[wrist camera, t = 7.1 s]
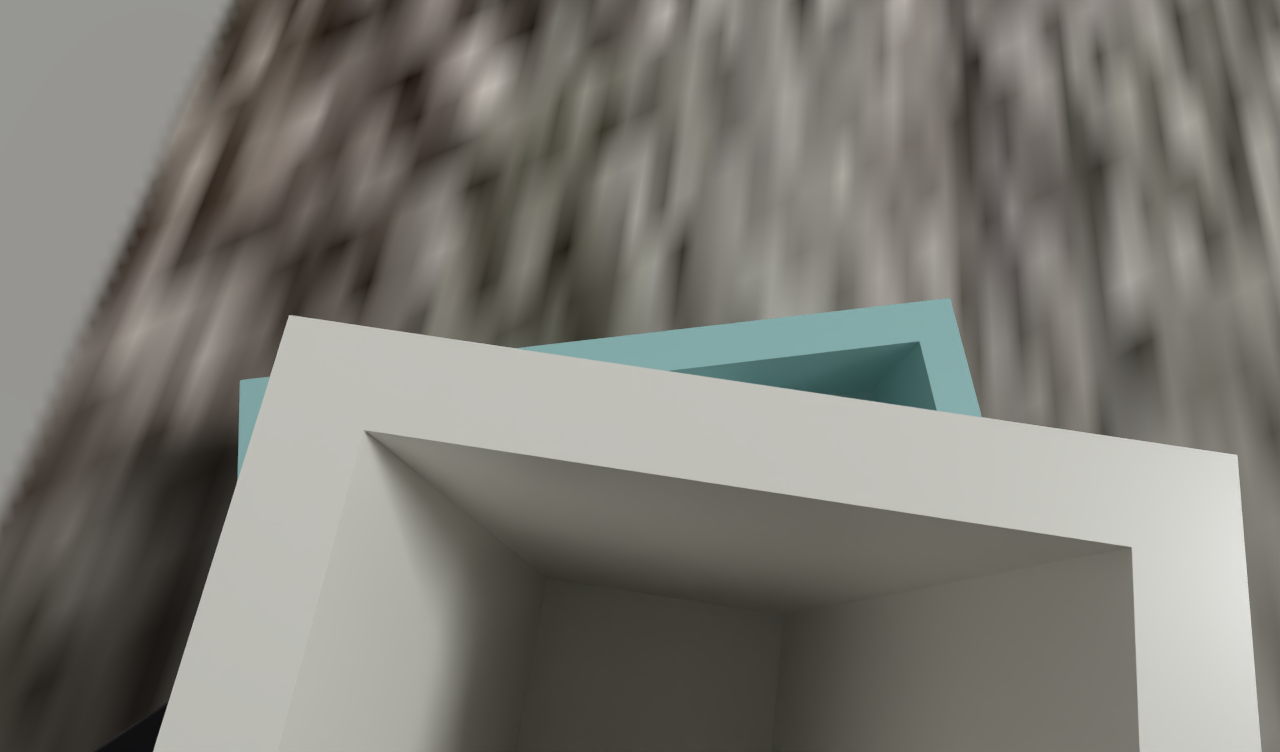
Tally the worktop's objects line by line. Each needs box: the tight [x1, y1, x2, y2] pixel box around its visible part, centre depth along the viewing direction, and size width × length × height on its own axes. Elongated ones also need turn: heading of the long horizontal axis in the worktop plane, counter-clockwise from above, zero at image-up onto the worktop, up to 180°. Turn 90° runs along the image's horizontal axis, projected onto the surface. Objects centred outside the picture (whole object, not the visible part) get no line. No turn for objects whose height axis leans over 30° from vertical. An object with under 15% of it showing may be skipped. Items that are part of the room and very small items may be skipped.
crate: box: [238, 298, 982, 478], centre depth 15 cm, size 14×14×4 cm
